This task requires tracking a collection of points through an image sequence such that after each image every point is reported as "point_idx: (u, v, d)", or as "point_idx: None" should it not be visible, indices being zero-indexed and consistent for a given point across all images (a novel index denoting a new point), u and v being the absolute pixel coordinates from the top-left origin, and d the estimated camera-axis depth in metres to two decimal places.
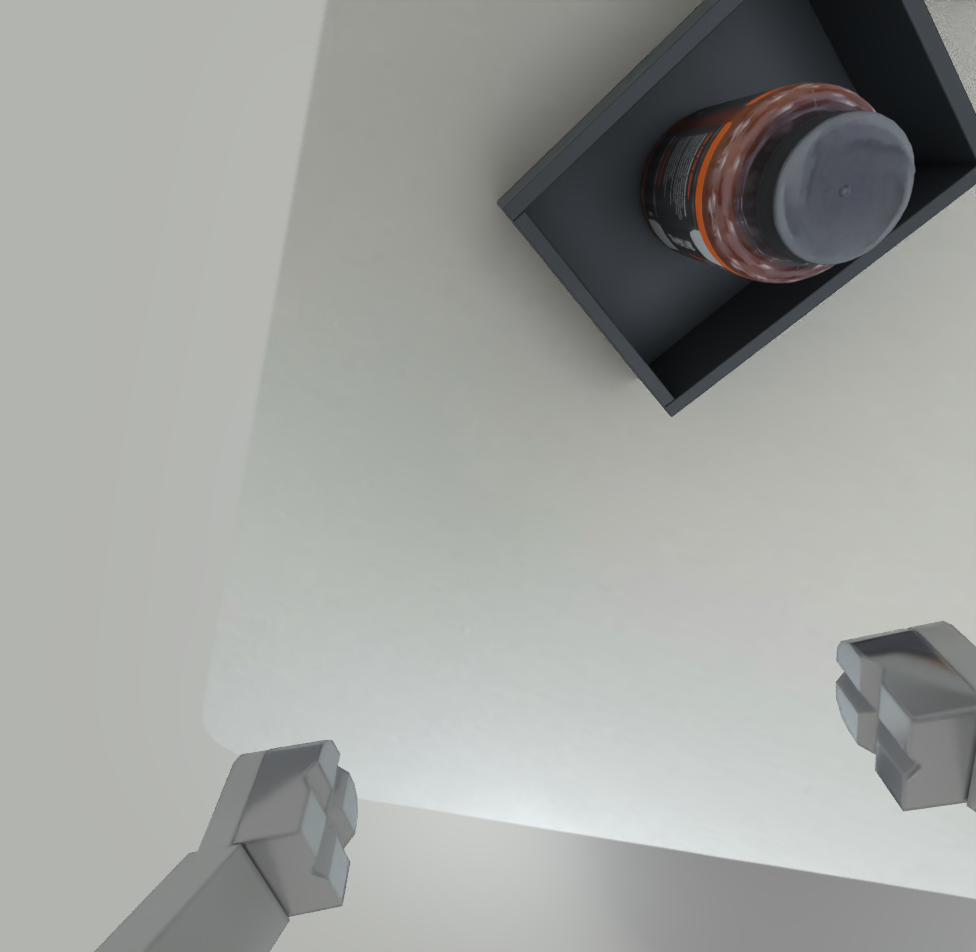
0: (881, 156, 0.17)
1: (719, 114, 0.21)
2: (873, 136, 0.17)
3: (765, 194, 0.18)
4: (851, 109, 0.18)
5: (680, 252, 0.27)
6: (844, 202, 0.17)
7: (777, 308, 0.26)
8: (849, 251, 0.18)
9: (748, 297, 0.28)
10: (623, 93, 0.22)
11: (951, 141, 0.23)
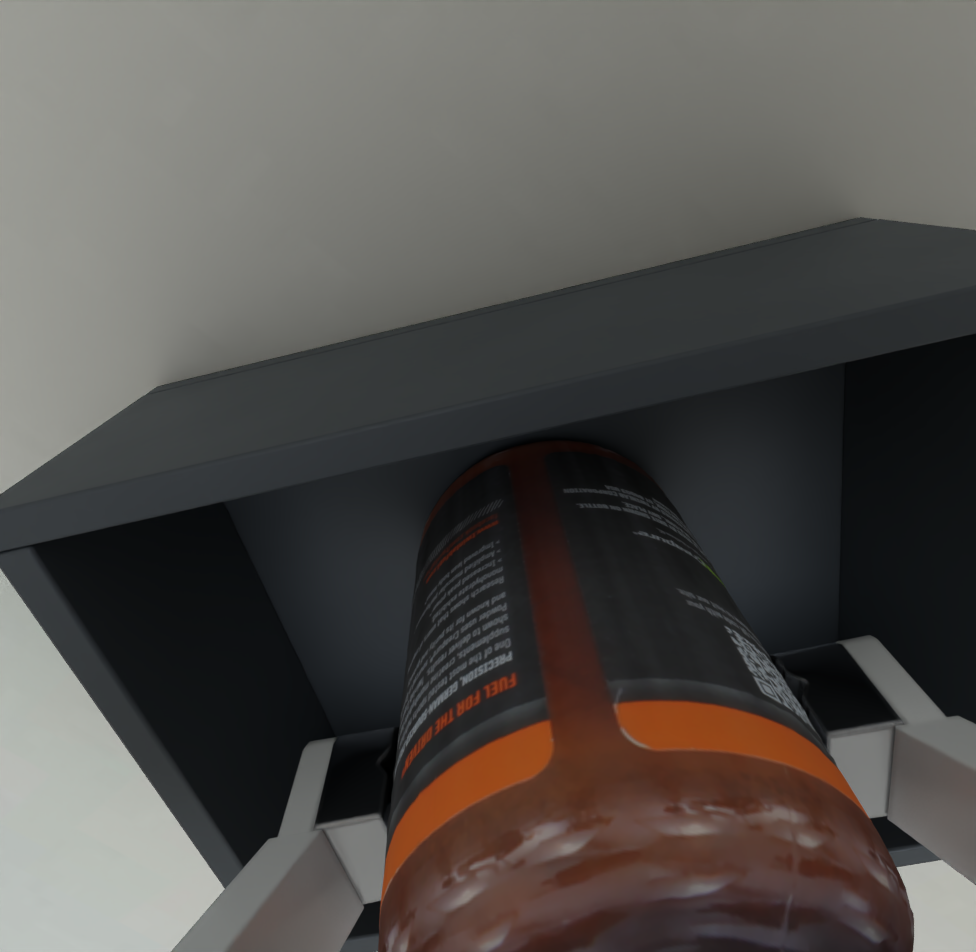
0: None
1: (571, 597, 0.08)
2: None
3: None
4: (867, 947, 0.06)
5: None
6: None
7: None
8: None
9: None
10: (371, 428, 0.08)
11: None
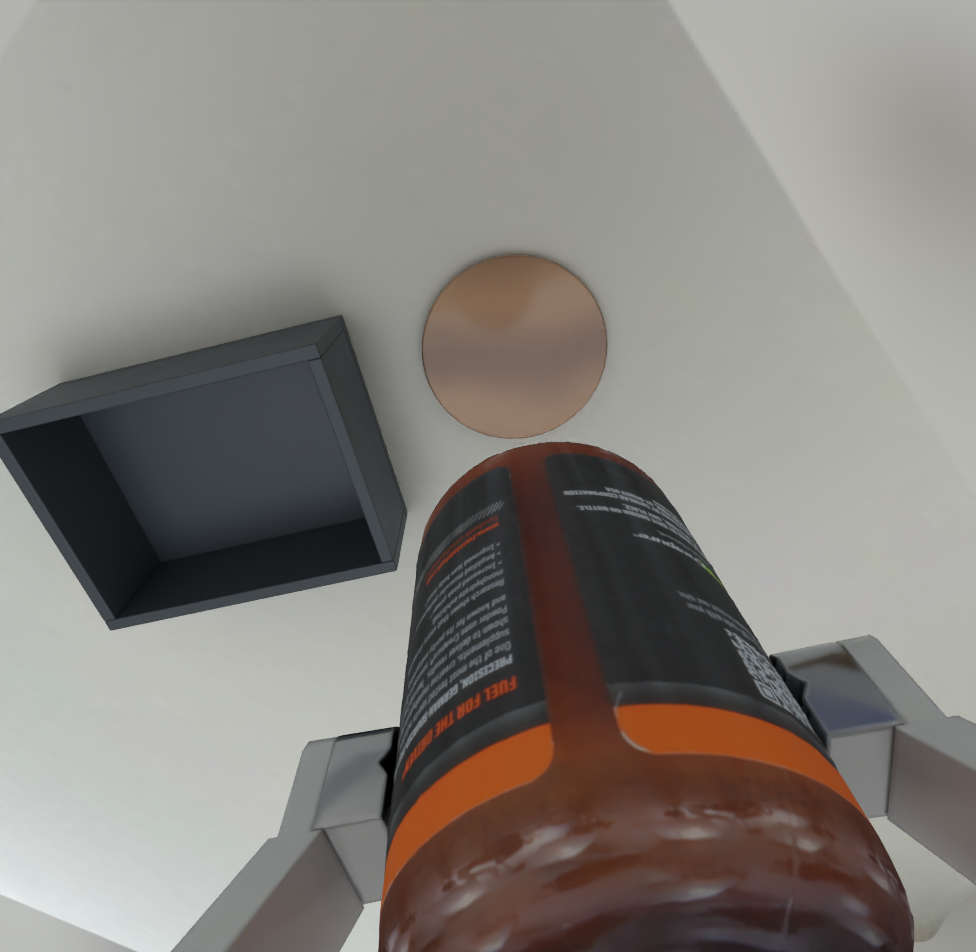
0: None
1: (572, 599, 0.08)
2: None
3: None
4: (867, 951, 0.06)
5: None
6: None
7: (227, 586, 0.31)
8: None
9: (243, 555, 0.33)
10: (103, 395, 0.25)
11: None
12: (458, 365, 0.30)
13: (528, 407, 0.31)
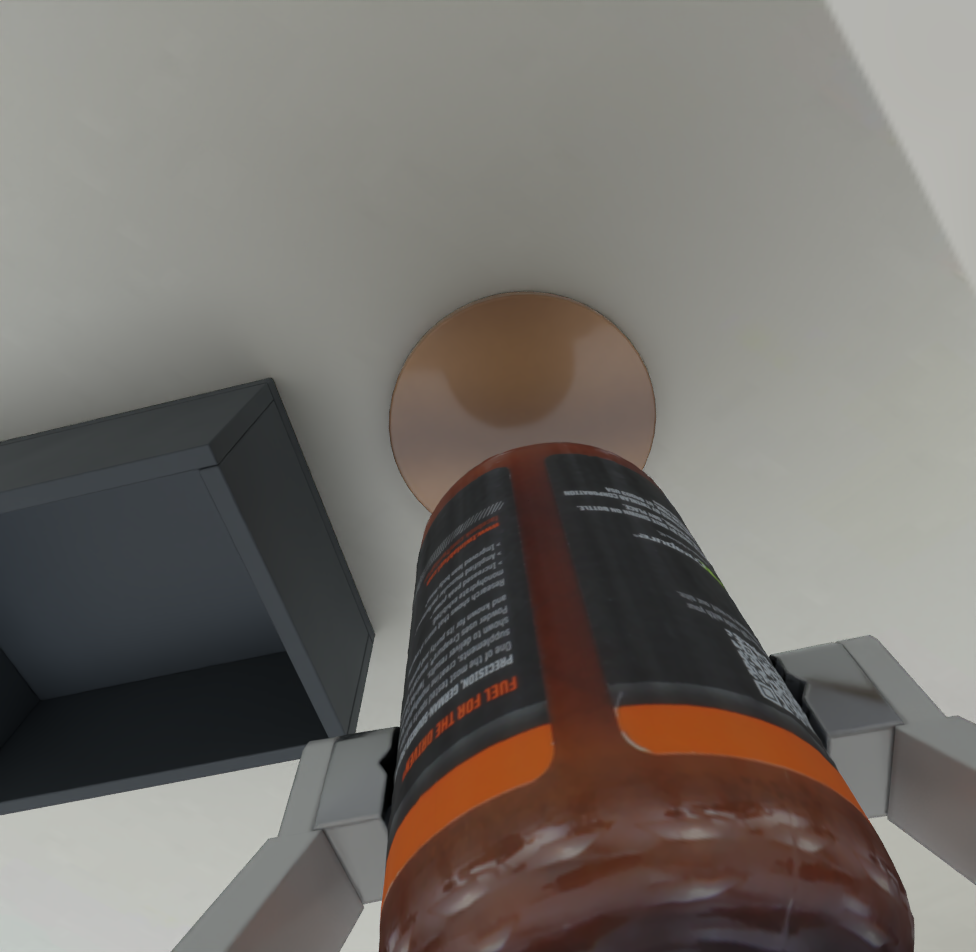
0: None
1: (572, 599, 0.08)
2: None
3: None
4: (868, 951, 0.06)
5: None
6: None
7: (112, 761, 0.22)
8: None
9: (147, 700, 0.24)
10: None
11: None
12: (442, 448, 0.21)
13: None
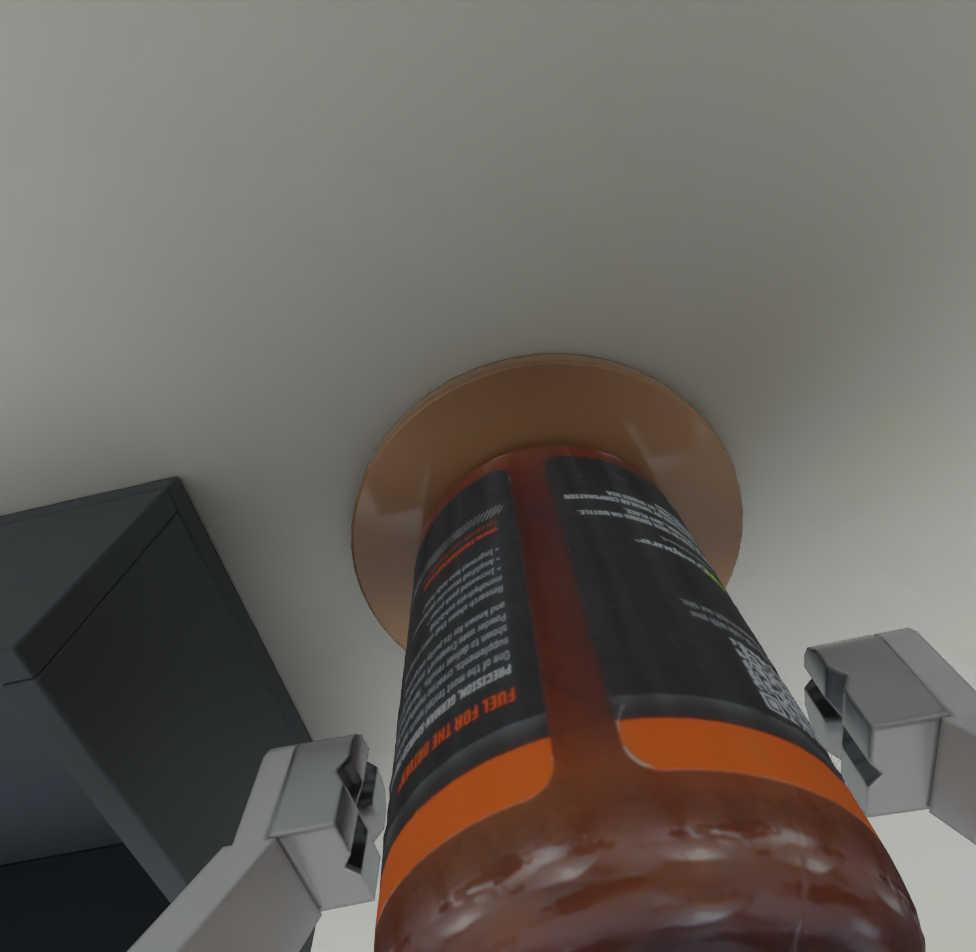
0: None
1: (572, 607, 0.08)
2: None
3: None
4: None
5: None
6: None
7: None
8: None
9: (24, 901, 0.17)
10: None
11: None
12: None
13: None
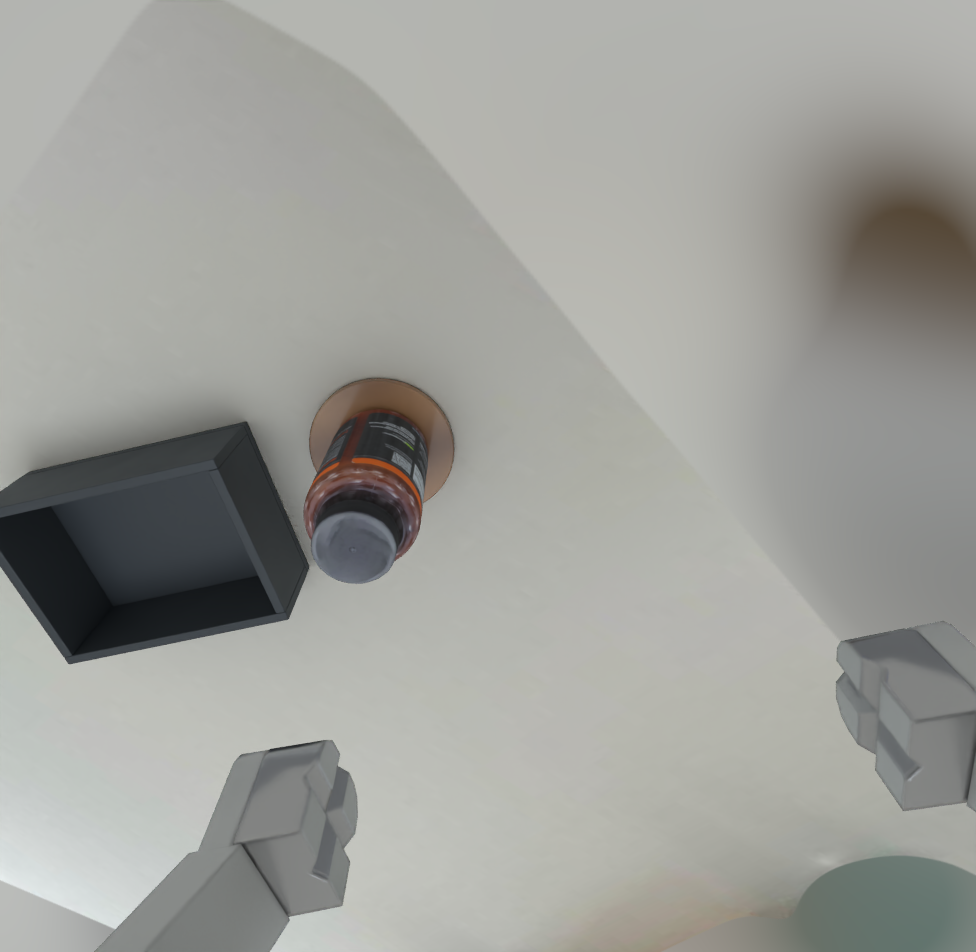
0: (376, 542, 0.29)
1: (355, 444, 0.33)
2: (373, 531, 0.28)
3: (315, 526, 0.29)
4: (394, 498, 0.30)
5: None
6: (351, 554, 0.29)
7: (159, 629, 0.39)
8: (350, 579, 0.29)
9: (177, 602, 0.42)
10: (57, 495, 0.34)
11: None
12: None
13: None
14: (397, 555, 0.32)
